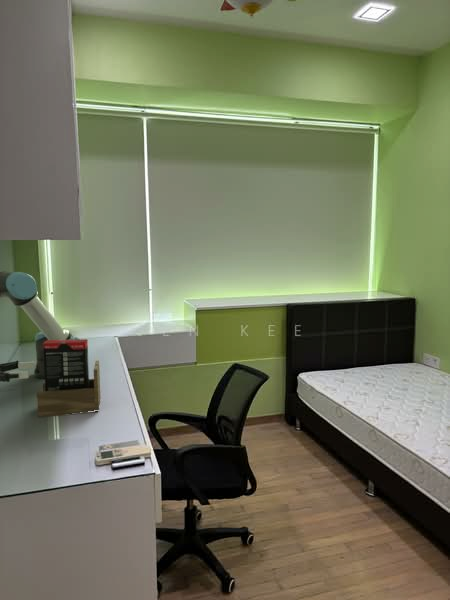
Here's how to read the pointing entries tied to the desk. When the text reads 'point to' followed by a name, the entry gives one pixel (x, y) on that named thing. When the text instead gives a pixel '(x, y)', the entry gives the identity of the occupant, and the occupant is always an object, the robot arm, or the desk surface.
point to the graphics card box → (66, 364)
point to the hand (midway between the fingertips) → (31, 369)
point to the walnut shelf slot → (70, 398)
